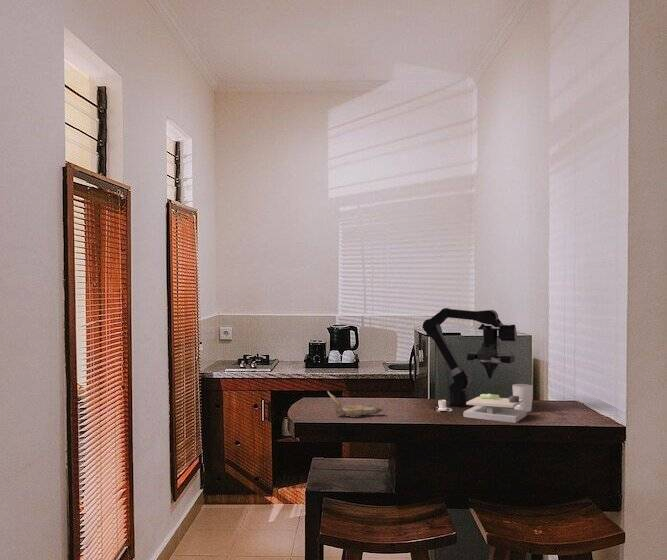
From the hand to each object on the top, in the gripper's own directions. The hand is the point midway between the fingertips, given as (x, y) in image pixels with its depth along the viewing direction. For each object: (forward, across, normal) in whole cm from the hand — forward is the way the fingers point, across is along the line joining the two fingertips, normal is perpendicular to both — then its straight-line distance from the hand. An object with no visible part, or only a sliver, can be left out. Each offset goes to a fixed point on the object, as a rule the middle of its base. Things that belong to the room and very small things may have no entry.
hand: (490, 378), depth 253 cm
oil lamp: (+13, -38, -43) cm, 59 cm away
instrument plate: (+7, +8, -14) cm, 18 cm away
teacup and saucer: (+13, -16, -16) cm, 27 cm away
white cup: (+12, +13, +2) cm, 18 cm away
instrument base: (+12, +8, -14) cm, 20 cm away
